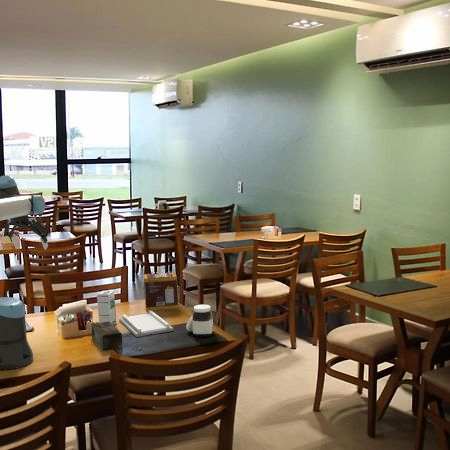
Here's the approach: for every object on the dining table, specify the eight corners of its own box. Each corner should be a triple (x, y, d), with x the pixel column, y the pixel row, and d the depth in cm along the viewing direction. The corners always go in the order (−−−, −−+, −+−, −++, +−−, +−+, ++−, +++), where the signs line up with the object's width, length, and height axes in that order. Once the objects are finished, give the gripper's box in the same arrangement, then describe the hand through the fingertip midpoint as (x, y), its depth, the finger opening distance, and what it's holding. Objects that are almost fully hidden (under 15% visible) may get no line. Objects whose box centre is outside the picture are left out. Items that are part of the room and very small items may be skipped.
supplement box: (144, 305, 277) (143, 274, 275) (176, 302, 280) (174, 271, 278) (145, 310, 267) (144, 278, 265) (178, 308, 270) (177, 276, 268)
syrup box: (111, 326, 244) (109, 294, 242) (98, 326, 245) (96, 293, 243) (116, 322, 250) (114, 290, 248) (104, 322, 251) (102, 290, 249)
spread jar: (209, 339, 224) (208, 310, 223) (182, 338, 227) (180, 309, 225) (216, 329, 236) (215, 302, 235) (189, 328, 238) (188, 301, 237)
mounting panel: (173, 330, 236) (173, 324, 236) (136, 337, 229) (135, 330, 229) (153, 315, 259) (153, 309, 259) (119, 320, 253) (119, 314, 252)
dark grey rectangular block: (110, 334, 234) (110, 319, 234) (123, 348, 217) (122, 332, 216) (91, 337, 231) (90, 322, 230) (102, 352, 214) (101, 335, 213)
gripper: (47, 204, 237) (61, 242, 251) (-8, 203, 241) (9, 241, 255) (40, 215, 232) (55, 253, 245) (-16, 214, 236) (2, 252, 249)
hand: (32, 247), depth 250 cm, fingers open, 13 cm apart
